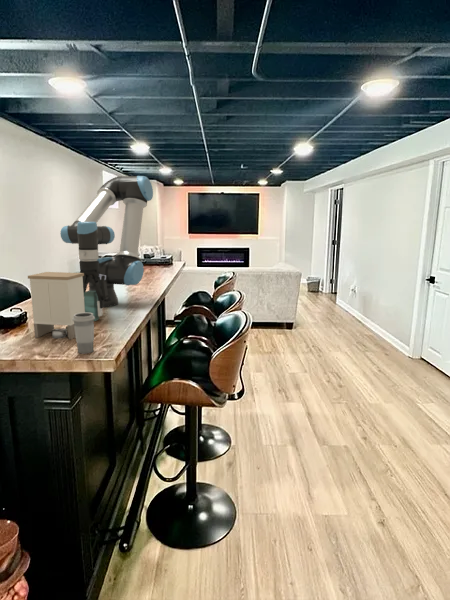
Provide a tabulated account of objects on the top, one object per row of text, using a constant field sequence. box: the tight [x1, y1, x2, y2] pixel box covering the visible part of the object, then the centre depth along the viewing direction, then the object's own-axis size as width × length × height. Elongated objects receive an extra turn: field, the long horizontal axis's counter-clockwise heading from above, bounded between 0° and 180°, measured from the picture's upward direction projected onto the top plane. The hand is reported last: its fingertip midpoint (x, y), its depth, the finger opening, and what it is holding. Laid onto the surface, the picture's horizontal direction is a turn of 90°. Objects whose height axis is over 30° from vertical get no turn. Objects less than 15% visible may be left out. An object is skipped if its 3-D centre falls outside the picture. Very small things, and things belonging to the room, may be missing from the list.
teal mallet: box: [65, 290, 100, 332], centre depth 154 cm, size 20×4×12 cm, turn 172°
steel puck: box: [51, 327, 68, 340], centre depth 139 cm, size 5×5×2 cm
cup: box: [72, 312, 95, 355], centre depth 122 cm, size 7×7×12 cm
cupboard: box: [27, 271, 85, 340], centre depth 139 cm, size 11×15×22 cm
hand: (92, 315), depth 162 cm, fingers open, 6 cm apart
